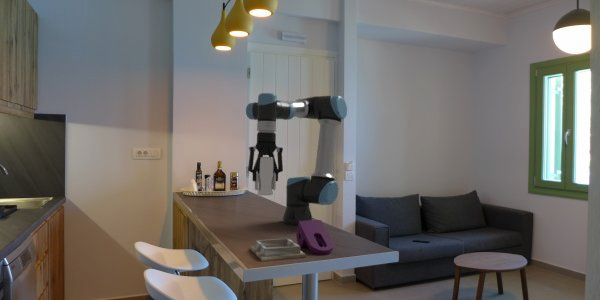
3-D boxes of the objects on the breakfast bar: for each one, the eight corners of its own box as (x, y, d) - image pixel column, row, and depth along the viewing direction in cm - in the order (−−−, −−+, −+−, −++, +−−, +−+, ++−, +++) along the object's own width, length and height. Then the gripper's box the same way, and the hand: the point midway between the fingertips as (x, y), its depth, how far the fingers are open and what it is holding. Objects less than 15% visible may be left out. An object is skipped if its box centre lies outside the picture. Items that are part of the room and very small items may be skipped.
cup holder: (250, 249, 153) (250, 239, 153) (290, 245, 159) (290, 237, 158) (261, 260, 138) (262, 250, 138) (305, 257, 144) (305, 247, 144)
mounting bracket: (332, 267, 152) (316, 236, 167) (337, 249, 149) (320, 219, 164) (309, 269, 149) (295, 237, 164) (313, 251, 145) (298, 220, 161)
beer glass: (253, 193, 164) (253, 156, 164) (267, 193, 168) (268, 156, 168) (262, 195, 158) (263, 157, 158) (277, 194, 163) (278, 157, 162)
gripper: (244, 131, 156) (243, 191, 156) (292, 132, 163) (291, 190, 163) (240, 131, 163) (239, 188, 163) (286, 133, 170) (285, 188, 170)
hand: (265, 189), depth 163 cm, fingers closed on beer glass, 6 cm apart
